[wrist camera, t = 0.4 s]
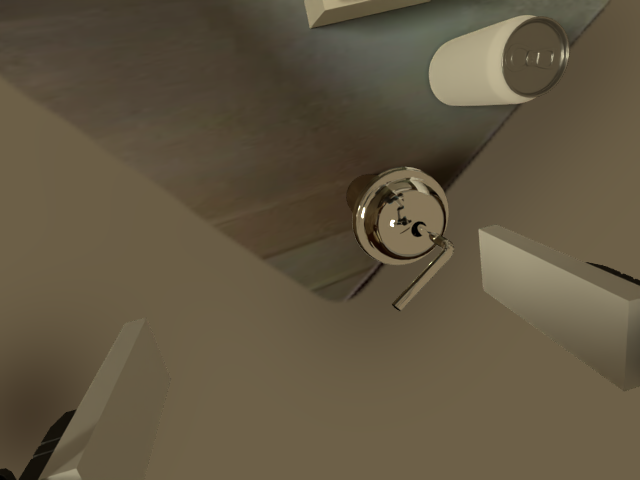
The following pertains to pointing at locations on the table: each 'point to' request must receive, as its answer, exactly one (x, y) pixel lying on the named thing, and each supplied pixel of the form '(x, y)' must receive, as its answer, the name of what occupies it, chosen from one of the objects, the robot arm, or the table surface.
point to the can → (501, 63)
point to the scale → (349, 9)
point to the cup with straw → (401, 221)
